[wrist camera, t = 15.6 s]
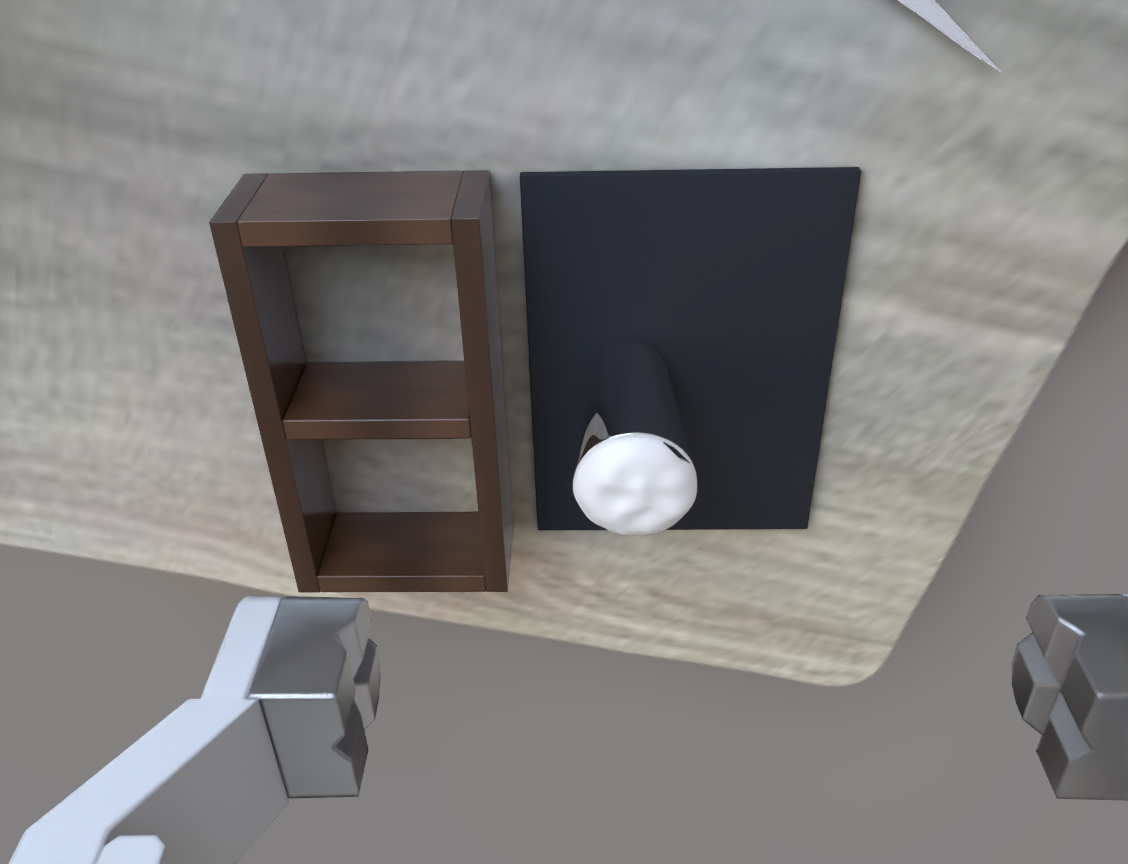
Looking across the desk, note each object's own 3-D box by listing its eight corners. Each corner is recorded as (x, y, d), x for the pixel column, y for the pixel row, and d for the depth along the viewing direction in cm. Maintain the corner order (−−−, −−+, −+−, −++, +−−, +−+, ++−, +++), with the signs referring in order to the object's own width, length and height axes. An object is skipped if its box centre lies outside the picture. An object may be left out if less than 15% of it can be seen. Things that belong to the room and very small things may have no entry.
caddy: (319, 527, 51) (298, 592, 47) (243, 173, 40) (208, 221, 36) (513, 526, 50) (507, 592, 47) (489, 169, 40) (479, 217, 36)
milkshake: (712, 338, 43) (741, 487, 35) (644, 427, 46) (657, 584, 38) (620, 290, 42) (628, 433, 34) (556, 385, 45) (549, 538, 37)
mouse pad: (538, 525, 50) (538, 530, 50) (520, 171, 40) (519, 175, 39) (805, 523, 50) (807, 529, 49) (859, 166, 39) (861, 170, 39)
